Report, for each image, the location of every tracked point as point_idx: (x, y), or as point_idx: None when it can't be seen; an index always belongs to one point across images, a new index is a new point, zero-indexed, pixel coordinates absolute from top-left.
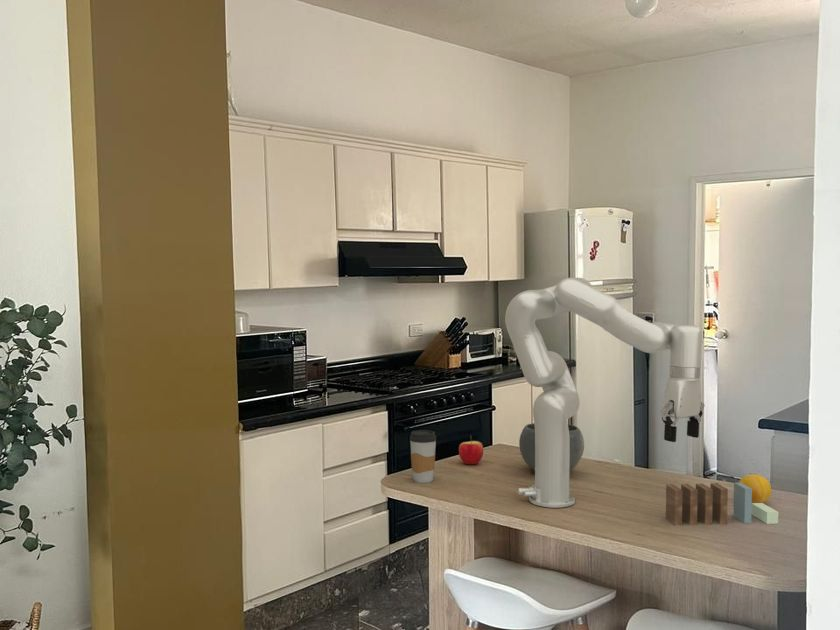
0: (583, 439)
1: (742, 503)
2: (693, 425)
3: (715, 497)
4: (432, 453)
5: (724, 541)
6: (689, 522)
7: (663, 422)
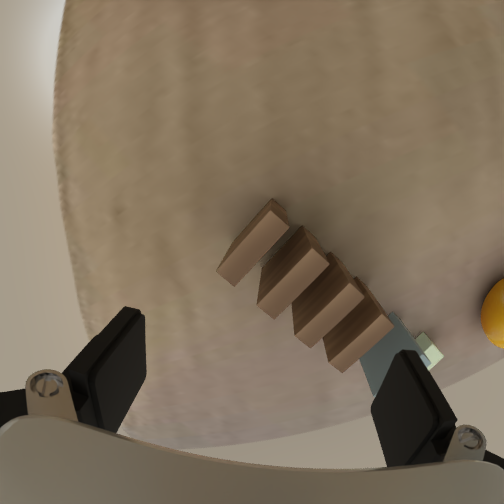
0: None
1: (372, 363)
2: (400, 444)
3: (348, 322)
4: None
5: (208, 359)
6: (264, 266)
7: (28, 380)
